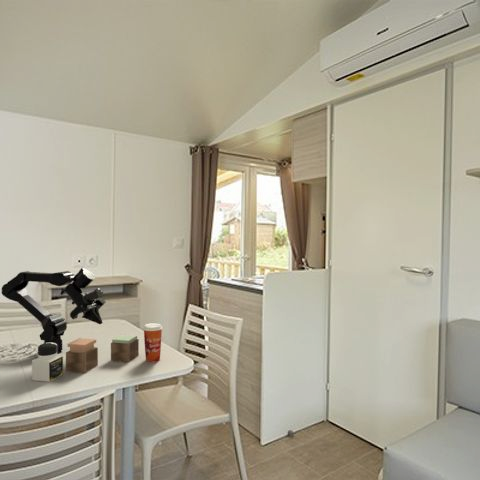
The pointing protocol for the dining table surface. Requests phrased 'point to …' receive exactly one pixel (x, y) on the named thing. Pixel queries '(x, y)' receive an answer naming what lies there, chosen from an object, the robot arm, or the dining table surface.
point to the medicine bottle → (47, 363)
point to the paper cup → (152, 341)
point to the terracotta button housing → (81, 361)
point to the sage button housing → (124, 351)
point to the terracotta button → (81, 345)
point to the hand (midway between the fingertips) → (101, 323)
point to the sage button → (124, 339)
